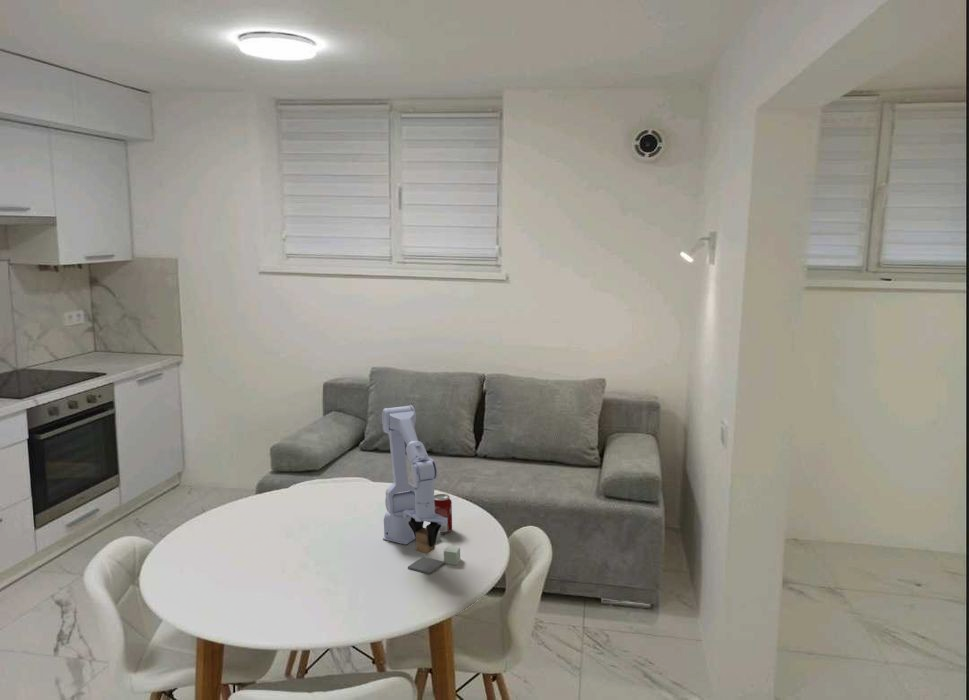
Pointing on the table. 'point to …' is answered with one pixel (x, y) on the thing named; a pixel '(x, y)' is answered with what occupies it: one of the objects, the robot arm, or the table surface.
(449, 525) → the soda can
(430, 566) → the slate coaster
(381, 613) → the table surface
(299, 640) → the table surface
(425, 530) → the walnut block
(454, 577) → the table surface
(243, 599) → the table surface
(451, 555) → the sage block
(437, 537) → the grey plastic box
